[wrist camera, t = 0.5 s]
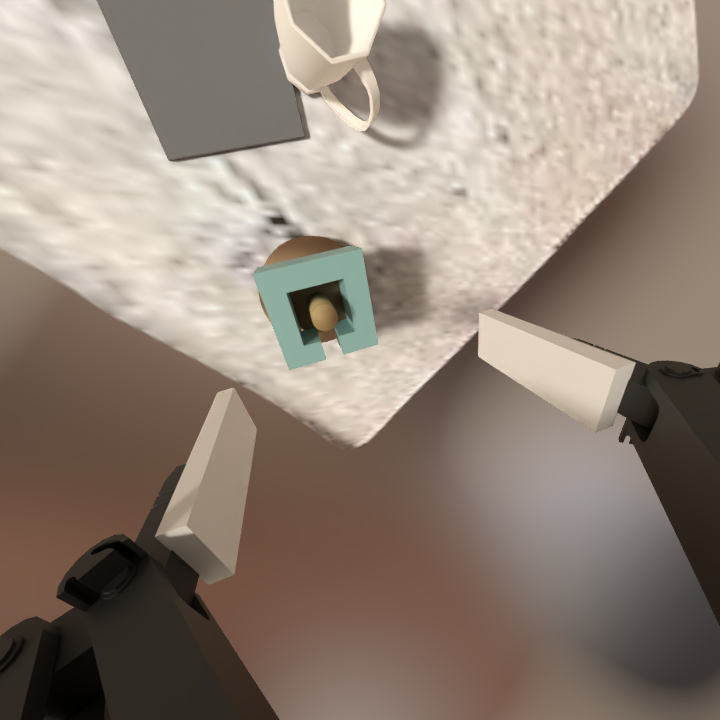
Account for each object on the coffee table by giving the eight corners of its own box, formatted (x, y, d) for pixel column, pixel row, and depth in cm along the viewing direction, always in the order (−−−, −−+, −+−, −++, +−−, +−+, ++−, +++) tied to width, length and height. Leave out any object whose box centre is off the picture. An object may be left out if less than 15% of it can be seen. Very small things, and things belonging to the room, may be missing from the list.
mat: (69, -67, 17) (63, -75, 16) (254, -79, 18) (253, -86, 18) (170, 160, 23) (168, 159, 22) (304, 137, 24) (304, 135, 24)
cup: (304, -29, 20) (336, -168, 13) (378, 114, 25) (427, 69, 18) (241, 38, 20) (239, -64, 13) (328, 167, 25) (358, 140, 19)
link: (257, 267, 24) (252, 274, 20) (351, 245, 25) (361, 248, 21) (289, 352, 28) (289, 370, 25) (367, 330, 29) (378, 344, 26)
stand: (242, 249, 27) (220, 261, 18) (351, 225, 28) (382, 224, 19) (280, 349, 33) (278, 396, 24) (369, 324, 34) (399, 359, 25)
